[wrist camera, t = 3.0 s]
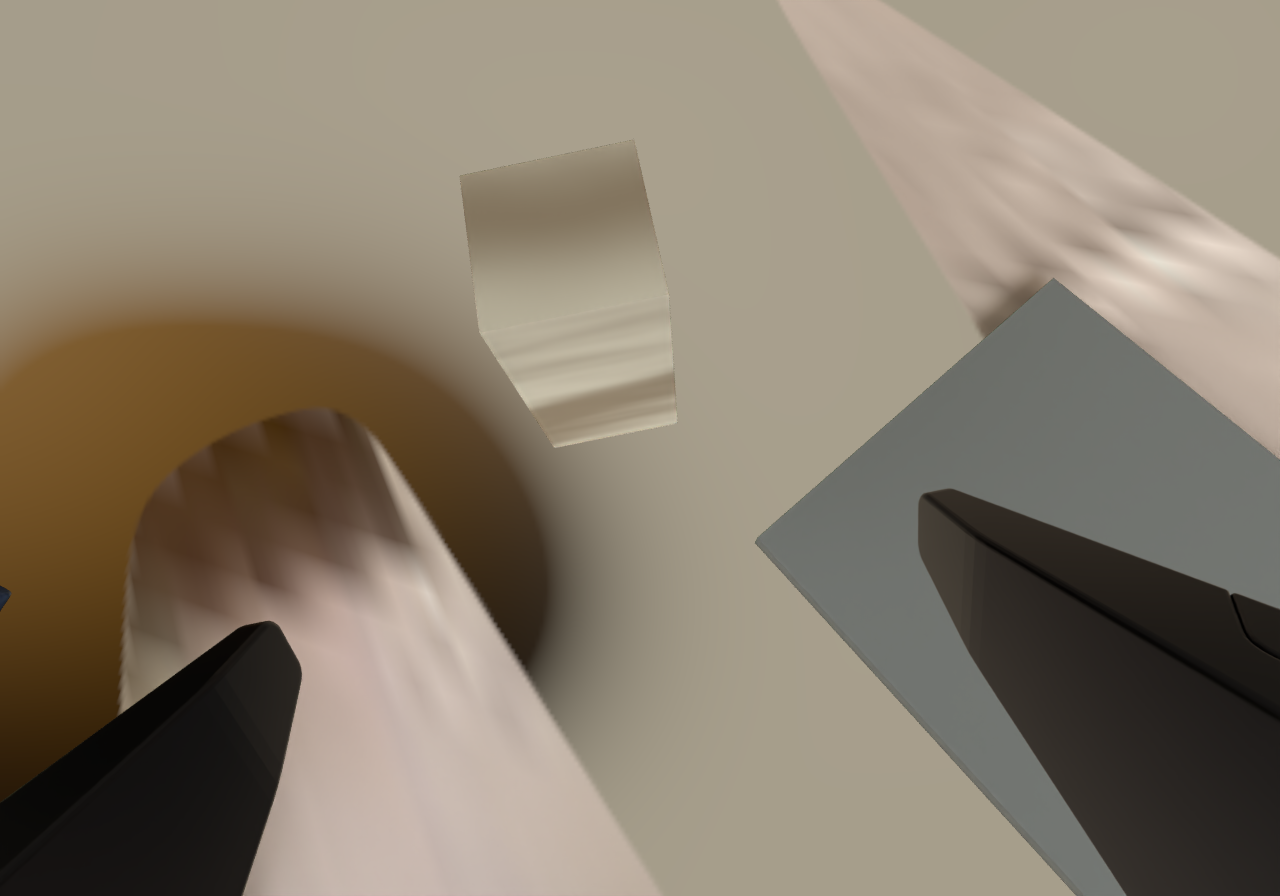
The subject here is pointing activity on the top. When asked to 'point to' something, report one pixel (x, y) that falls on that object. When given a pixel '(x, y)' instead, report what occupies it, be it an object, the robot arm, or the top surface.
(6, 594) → the protein box
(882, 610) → the rubber mat
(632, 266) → the cream rectangular block
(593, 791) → the top surface
